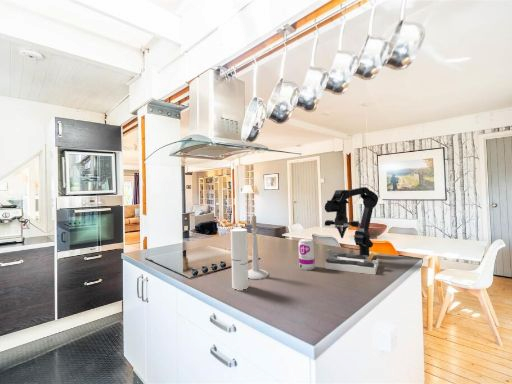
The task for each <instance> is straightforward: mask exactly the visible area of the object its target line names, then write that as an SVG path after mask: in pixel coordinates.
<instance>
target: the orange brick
mask: <svg viewBox="0 0 512 384" xmlns="http://www.w3.org/2000/svg"><path fill="white" fill-rule="evenodd" d="M369 254H370V256H369V257H368V259H367V260H371V259H372V258H373V256H375V252H370V253H369Z"/></svg>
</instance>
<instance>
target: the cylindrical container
mask: <svg viewBox="0 0 512 384" xmlns="http://www.w3.org/2000/svg"><path fill="white" fill-rule="evenodd" d="M248 250H249V249H248V229H247V228H234V229H230V255H231V257H230V258H231V288H234V289H237V290H236V291H244V290H243V289H246V290H247V288H248V287H249V279H248V270H249V258H248V257H249V254H248V252H249V251H248ZM234 289H233V290H234ZM248 289H249V288H248Z"/></svg>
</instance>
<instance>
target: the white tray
mask: <svg viewBox="0 0 512 384" xmlns="http://www.w3.org/2000/svg"><path fill="white" fill-rule="evenodd" d="M334 256H335V257H330V256H329V255H328V258H327V259H337V260H352V261H360V262H367V263H373V264H374V267H366V266H358V265H351V264H337V263H328V262H326V261H325V262H324V263H325V264H324V267H325V268H324V269H326V270H333V271H334V270H336V271H342V272H351V273H360V274H366V275H367V274H368V275H376V273H377V271H378V268H379V259H378V258H377V259H376V260H372V259H371V260H367V259H368V257H365V259H356V258H347V257H339V256H337V254H334Z"/></svg>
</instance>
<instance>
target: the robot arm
mask: <svg viewBox="0 0 512 384" xmlns="http://www.w3.org/2000/svg"><path fill="white" fill-rule="evenodd" d="M358 195H360V198H361V199H362V203H363V206H364V207H363V212H362V216H361V221H359V220H351V221H349V218H348V215H347V214H348V212H347V210H348V209H347V207H348V206H347V204H350V202H349V201H348V199H350V198H351V197H354V196H355V197H356V196H358ZM378 202H379V196H378V195H377V193H375V192H374V191H373V190H371V189H369V188H368V187H366V186H360V187H357V188H352V189H337V190H334V193H333V194H332V197H331V199H329V200H328V199H327V201H326V202H325V205H324V211H325V212H326V213H335V218H334V219H333V220H332V219H327V220H325V221H324V226H327V227H330V226H331V225H334V228H336V229H337V231H338V234H339V236H340V238H341V239H344V236H345V233H346V231H347V229H348V228H349V227H350V226H351V227H352V228H353V227H354V228H358V227H359V228H358V230H355V231H354V236H353V237H354V239H353V240H354V242H355V246H358V247H359V248H358V250H359V251H358V253H359V254H358V255H367V256H370V254H371V253H370V248H373V247H374V243H373V241H372V240H371V239H370V238H371V236H370V232H369V228H370V223H371V220H372V215H373V210H374V208H375V207H376V206H377V205H378Z"/></svg>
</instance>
